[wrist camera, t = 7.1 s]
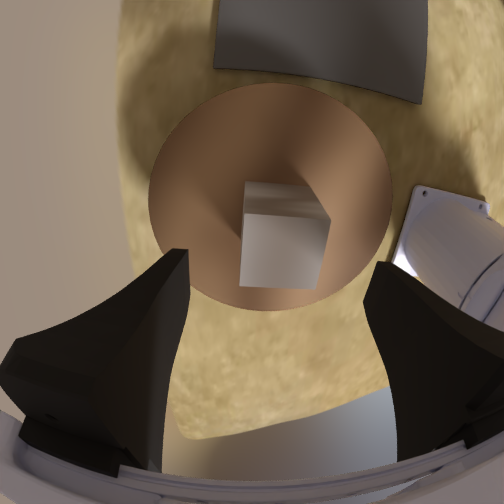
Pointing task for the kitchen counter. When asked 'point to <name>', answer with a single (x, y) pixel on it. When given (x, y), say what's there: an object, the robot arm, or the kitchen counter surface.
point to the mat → (329, 41)
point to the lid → (271, 196)
